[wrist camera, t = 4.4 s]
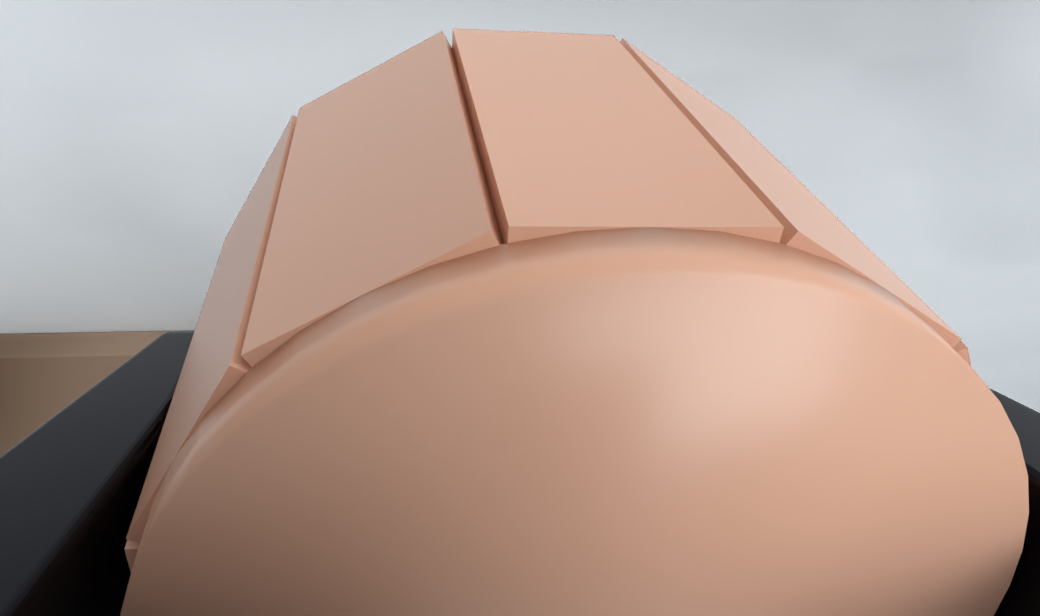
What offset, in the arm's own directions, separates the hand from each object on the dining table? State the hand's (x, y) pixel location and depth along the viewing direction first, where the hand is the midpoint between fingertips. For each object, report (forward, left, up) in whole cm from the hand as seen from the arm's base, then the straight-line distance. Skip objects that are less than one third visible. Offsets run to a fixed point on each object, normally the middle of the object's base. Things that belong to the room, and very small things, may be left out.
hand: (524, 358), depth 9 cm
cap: (0, 0, -1) cm, 1 cm away
